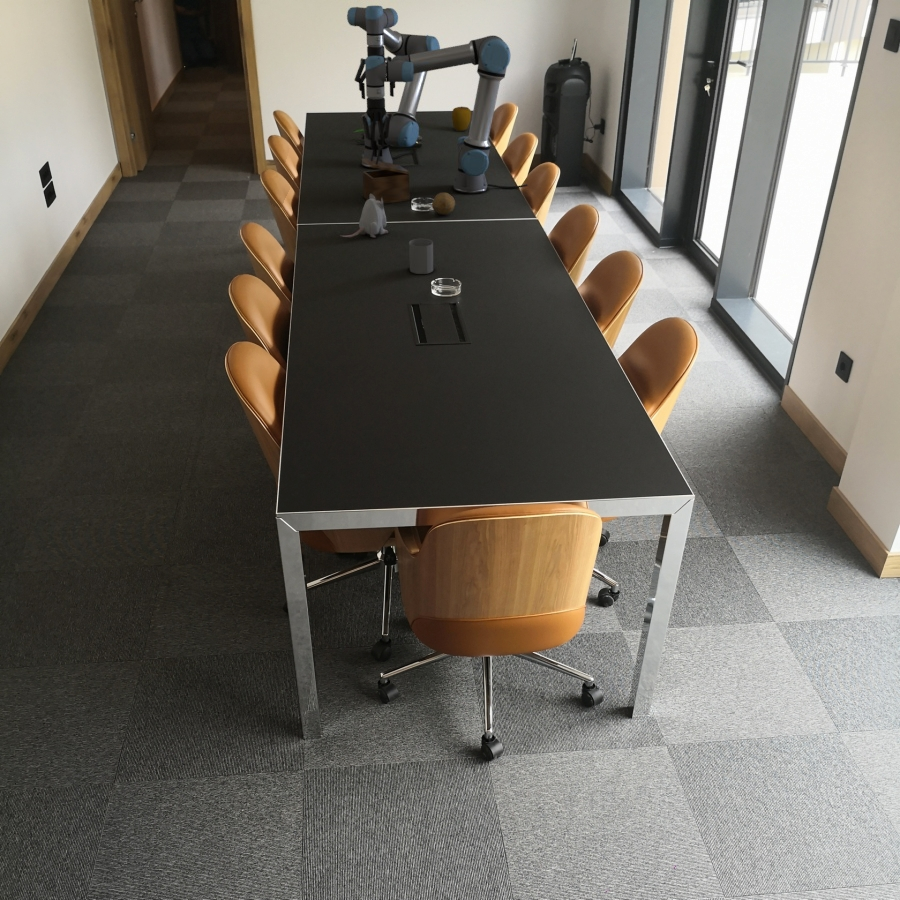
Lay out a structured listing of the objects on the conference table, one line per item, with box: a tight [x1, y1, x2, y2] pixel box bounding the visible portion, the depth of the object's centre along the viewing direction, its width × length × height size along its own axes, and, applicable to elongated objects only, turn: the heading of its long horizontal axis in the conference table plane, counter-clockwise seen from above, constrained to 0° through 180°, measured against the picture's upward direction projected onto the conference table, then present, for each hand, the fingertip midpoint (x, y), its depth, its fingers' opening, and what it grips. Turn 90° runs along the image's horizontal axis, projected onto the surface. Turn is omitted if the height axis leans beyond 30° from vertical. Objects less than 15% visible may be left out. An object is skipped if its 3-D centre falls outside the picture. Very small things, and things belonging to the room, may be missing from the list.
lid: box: [361, 143, 410, 175], centre depth 371 cm, size 17×12×9 cm
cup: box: [408, 237, 434, 275], centre depth 305 cm, size 8×8×10 cm
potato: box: [431, 192, 456, 216], centre depth 360 cm, size 10×14×8 cm
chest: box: [362, 169, 411, 205], centre depth 377 cm, size 17×12×11 cm
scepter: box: [352, 128, 365, 145], centre depth 467 cm, size 6×13×30 cm
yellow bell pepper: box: [451, 105, 472, 132], centre depth 487 cm, size 11×11×13 cm
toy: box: [341, 194, 389, 239], centre depth 333 cm, size 9×24×15 cm, turn 137°
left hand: (377, 97), depth 389 cm, fingers open, 13 cm apart
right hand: (377, 155), depth 369 cm, fingers closed on lid, 2 cm apart
